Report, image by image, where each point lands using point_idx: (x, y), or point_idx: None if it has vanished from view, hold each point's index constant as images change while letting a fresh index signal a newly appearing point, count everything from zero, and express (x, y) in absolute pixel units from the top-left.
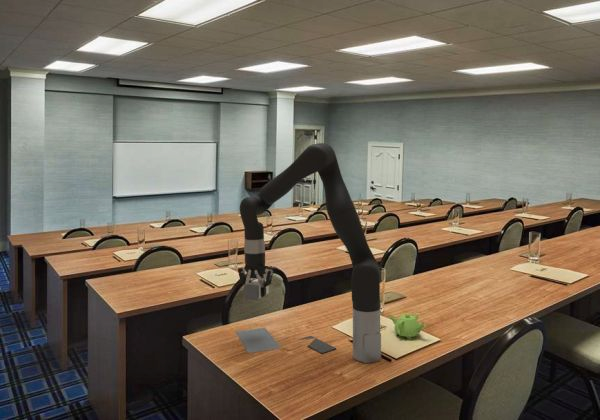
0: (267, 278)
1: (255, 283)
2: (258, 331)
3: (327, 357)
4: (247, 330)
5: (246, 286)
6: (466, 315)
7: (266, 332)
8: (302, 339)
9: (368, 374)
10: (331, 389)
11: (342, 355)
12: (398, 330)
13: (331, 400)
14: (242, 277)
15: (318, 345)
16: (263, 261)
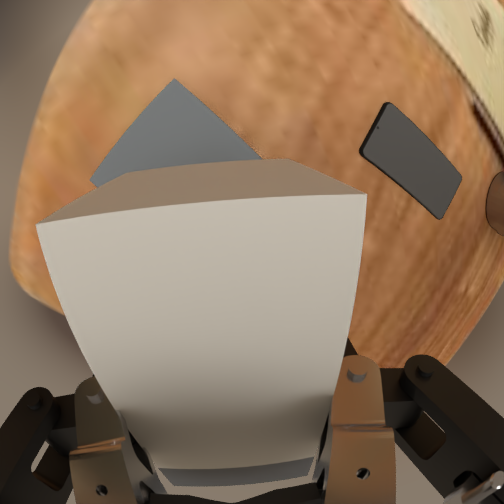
0: (438, 470)
1: (236, 442)
2: (172, 130)
3: (449, 233)
4: (123, 144)
5: (201, 481)
6: None
7: (212, 125)
8: (376, 143)
9: (495, 269)
10: (449, 339)
11: (471, 209)
12: None
13: (445, 360)
14: (68, 495)
15: (427, 175)
16: None
